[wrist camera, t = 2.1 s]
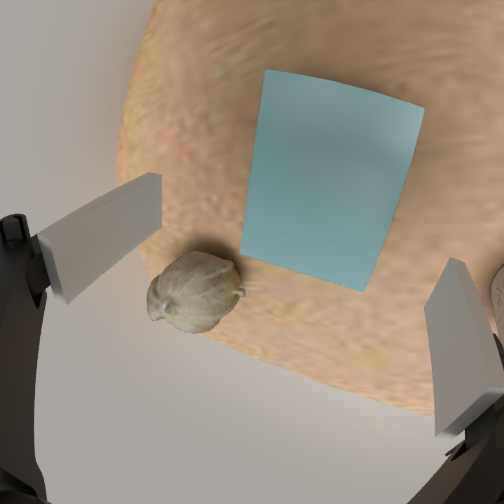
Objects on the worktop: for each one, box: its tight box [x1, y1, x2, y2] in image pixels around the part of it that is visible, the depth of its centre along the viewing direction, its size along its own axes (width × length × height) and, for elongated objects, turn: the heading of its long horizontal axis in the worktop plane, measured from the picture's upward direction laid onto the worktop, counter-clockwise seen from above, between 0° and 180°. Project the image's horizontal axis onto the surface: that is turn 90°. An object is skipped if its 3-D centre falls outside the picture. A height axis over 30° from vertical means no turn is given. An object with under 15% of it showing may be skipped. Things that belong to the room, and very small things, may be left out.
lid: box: [239, 69, 425, 292], centre depth 19 cm, size 13×9×3 cm
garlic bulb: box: [147, 251, 246, 334], centre depth 30 cm, size 9×8×10 cm
